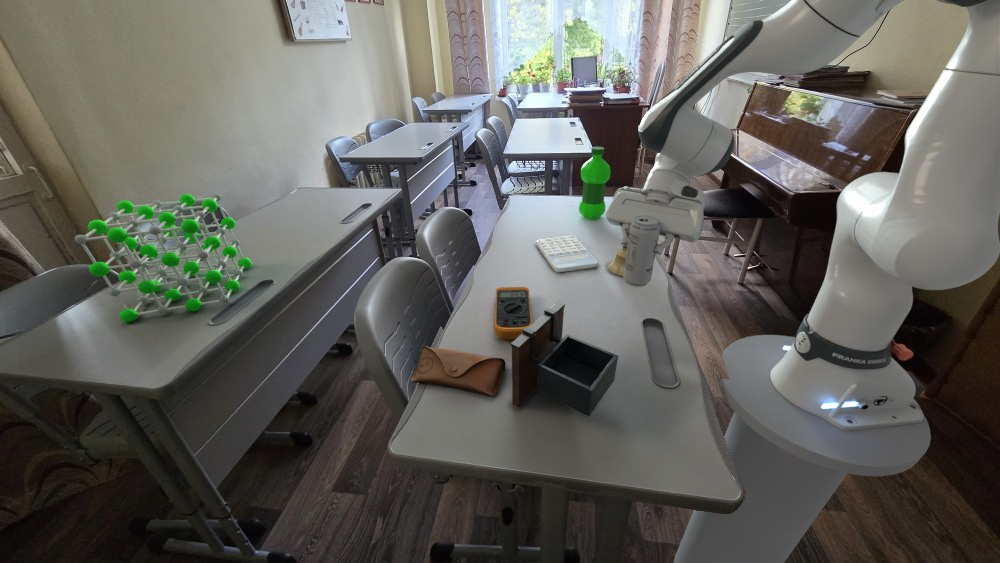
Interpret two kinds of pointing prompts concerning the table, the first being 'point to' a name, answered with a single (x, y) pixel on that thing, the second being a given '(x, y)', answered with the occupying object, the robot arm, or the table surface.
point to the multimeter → (512, 312)
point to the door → (521, 354)
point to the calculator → (566, 254)
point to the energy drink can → (641, 250)
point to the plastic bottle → (594, 185)
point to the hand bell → (619, 261)
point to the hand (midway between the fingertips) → (640, 249)
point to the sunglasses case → (460, 370)
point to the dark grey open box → (573, 370)
